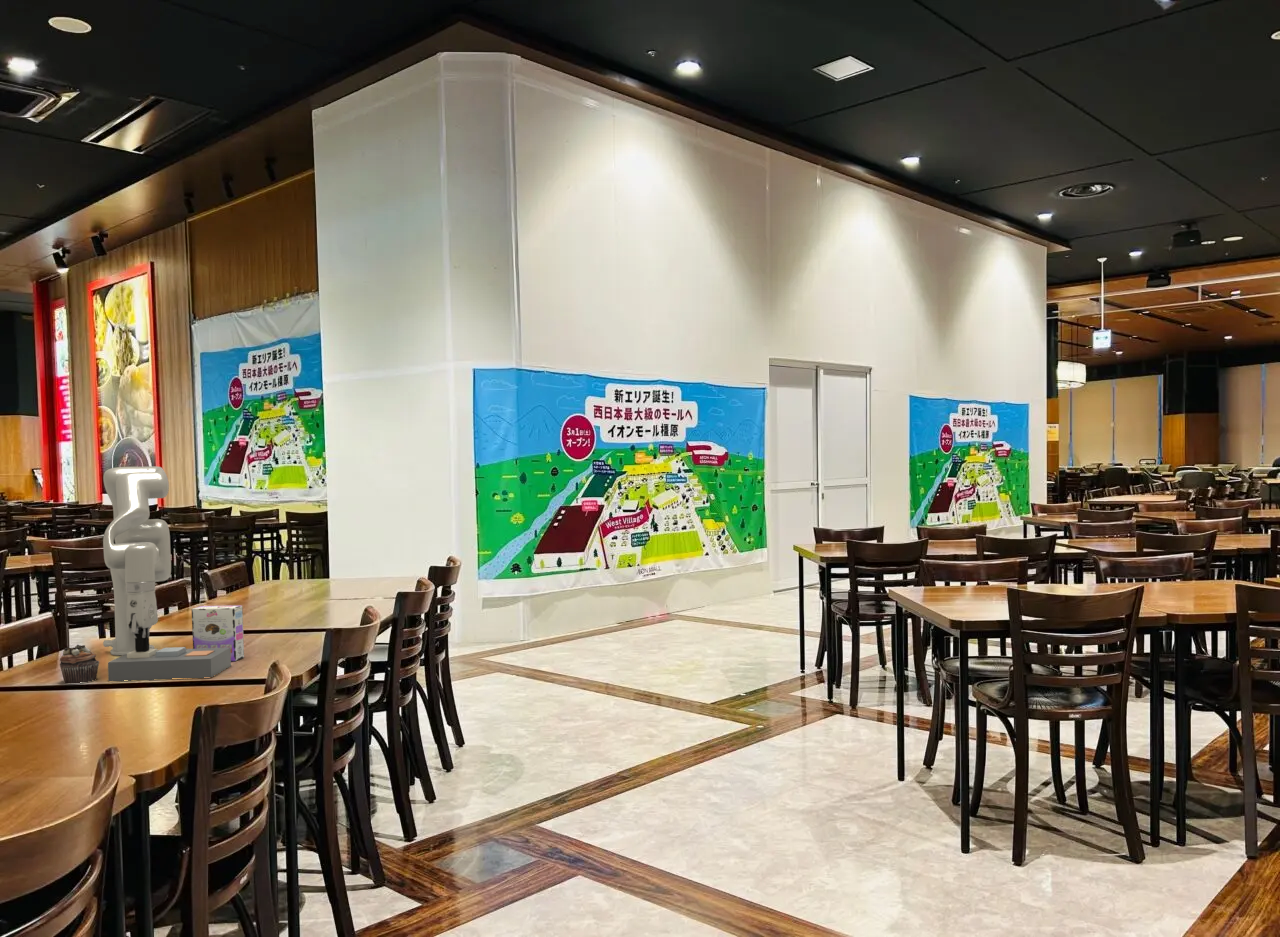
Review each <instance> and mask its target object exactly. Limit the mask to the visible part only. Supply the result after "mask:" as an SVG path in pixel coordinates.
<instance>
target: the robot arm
mask: <svg viewBox="0 0 1280 937" xmlns="http://www.w3.org/2000/svg"><path fill="white" fill-rule="evenodd" d="M103 484H104V488H105V489H104V490H105V491H106V494H107V496H108V498H109V501H110V502H111V505H112V509H113V510H112V511H113V520H111V522H110V524H108V525H107V527H106V529H105V531H104V533H103V537H102V538H103V539H102V541H103V542H102V544H103V546H102V547H103V559H104V560H103V561H104V563H105V566H106V567H107V568H108V569H109V570H110V571H109V572H110V575H111V581H112V587H113V597H114V598H113V599H114V602H113V604H114V627H115V628H114V631H115V635H114V636H115V637H114V638H113V639H112V640H111V639H104V640H103V643H102V645H103V647H104V648H106V647H107V648H109V647H111V648H112V649H110V651H109V652H110V655H112V656H123V655H125V654H127V653H129V652H132V651H134V650H135V651H136V652H146V651H149V649H155V645H153V644H150V634H151V633H150V629H152V627H153V626H155V625H156V624H157V623H158V621H159V618H158V606H157V597H156V582H165V581H167V580H168V579H169V578H170V577H171V575H172V574H171V573H172V559H171V558H172V557H171V556H172V555H171V554H172V553H171V535H170V529H169V525H168V523H167V522H166V520H163V519H159V518H153V519H152V518H151V519H150V506H149V499H164V498H166V497H167V496H168V494H169V490H170V484H169V478H168V475H167V473H166V472H165V470H164V469H163V467H161V466H152V465H151V466H120V467H119V466H118V467H111V468H109V469H106V470H105V471H104V473H103Z"/></svg>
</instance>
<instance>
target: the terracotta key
mask: <svg viewBox="0 0 1280 937" xmlns="http://www.w3.org/2000/svg"><path fill="white" fill-rule="evenodd" d="M213 652H214V651H192V652H190V653H189V654H187V655H185V656H207V655H209V654H211V653H213Z"/></svg>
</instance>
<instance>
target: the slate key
mask: <svg viewBox="0 0 1280 937" xmlns="http://www.w3.org/2000/svg"><path fill="white" fill-rule="evenodd" d="M186 649H187V648H186V646H179V647H163V648H162V649H158V650H159V651H157V652H156V657H179V656H181V655H182V654H184V653H186Z"/></svg>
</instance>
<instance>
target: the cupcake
mask: <svg viewBox="0 0 1280 937" xmlns="http://www.w3.org/2000/svg"><path fill="white" fill-rule="evenodd" d="M96 656H97V655H96V653H94V652H92V651H91V650H90V649H89V648H88V647H86V645H80V644H76V645H75V646H74V647H64V648H63V651H62V656H61V657H60V658H59V662H60V663H59V667H60V672H61V675H62V678H63V682H65V683H80V682H87V683H89V682H88V681H91V682H93V681H92V680H94V681H96V680H97V678H98V671H99V664H100V661H99V660H97V658H96ZM95 679H96V680H95ZM65 683H64V684H65ZM80 684H81V683H80Z"/></svg>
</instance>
